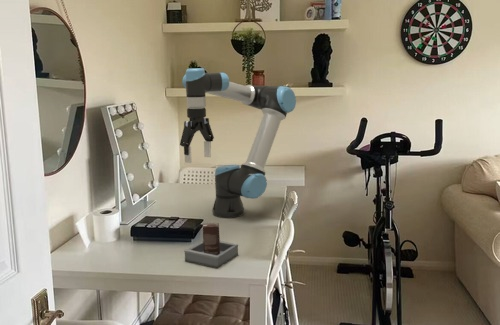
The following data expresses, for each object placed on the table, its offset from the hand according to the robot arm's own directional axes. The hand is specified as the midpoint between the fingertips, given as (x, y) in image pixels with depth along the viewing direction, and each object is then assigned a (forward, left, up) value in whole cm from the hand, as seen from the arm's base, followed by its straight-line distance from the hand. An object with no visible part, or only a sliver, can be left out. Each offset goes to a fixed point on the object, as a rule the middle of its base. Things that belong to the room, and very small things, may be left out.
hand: (198, 159), depth 203 cm
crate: (+20, +19, -32) cm, 42 cm away
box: (+20, +19, -31) cm, 41 cm away
